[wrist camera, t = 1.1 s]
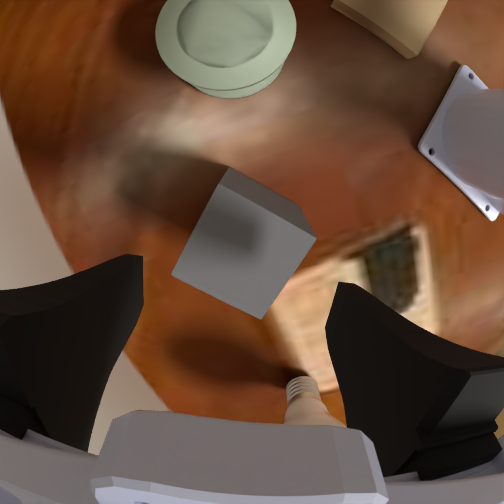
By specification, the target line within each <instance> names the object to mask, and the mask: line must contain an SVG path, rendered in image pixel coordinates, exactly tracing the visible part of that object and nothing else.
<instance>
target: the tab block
mask: <svg viewBox="0 0 504 504" xmlns="http://www.w3.org/2000/svg"><path fill="white" fill-rule="evenodd" d="M316 239H317V238H316V236H315V234H314V232H313V230H312V228H311V226H310V224H309V223H308V221H307V219H306V217H305V215H304V213H303V211H302V210H301V208H300V206H299V205H297V204H295V203H293V202H292V201H290V200H288V199H287V198H285V197H283V196H281V195H280V194H278V193H276V192H274V191H273V190H271V189H269V188H267V187H266V186H264V185H262V184H260V183H258V182H257V181H255V180H253V179H251V178H249V177H248V176H246V175H244V174H242V173H240V172H239V171H237V170H235V169H233V168H231V167H229V168H228V169H227V171H226V173H225V174H224V176H223V177H222V179H221V180H220V182H219V183H218V185H217V187H216V189H215V191H214V193H213V194H212V196H211V198H210V200H209V202H208V204H207V206H206V207H205V209H204V211H203V213H202V215H201V217H200V219H199V221H198V223H197V224H196V226H195V228H194V230H193V232H192V234H191V236H190V238H189V240H188V242H187V244H186V246H185V248H184V250H183V252H182V254H181V256H180V258H179V260H178V262H177V264H176V266H175V268H174V270H173V272H172V274H171V275H172V276H174V277H176V278H178V279H180V280H182V281H184V282H186V283H188V284H190V285H192V286H194V287H196V288H197V289H199V290H201V291H203V292H205V293H207V294H209V295H211V296H213V297H215V298H218V299H220V300H222V301H224V302H226V303H228V304H230V305H232V306H234V307H236V308H238V309H240V310H242V311H244V312H246V313H248V314H251V315H253V316H255V317H257V318H259V319H262V317H263V316H264V315H265V313H266V312H267V310H268V309H269V307H270V306H271V305H272V303H273V302H274V300H275V299H276V298H277V296H278V295H279V293H280V292H281V290H282V289H283V287H284V286H285V285H286V283H287V282H288V280H289V279H290V277H291V276H292V274H293V273H294V272H295V270H296V269H297V267H298V266H299V264H300V263H301V261H302V260H303V258H304V257H305V255H306V254H307V252H308V251H309V249H310V248H311V246H312V245H313V243H314V242H315V241H316Z"/></svg>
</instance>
